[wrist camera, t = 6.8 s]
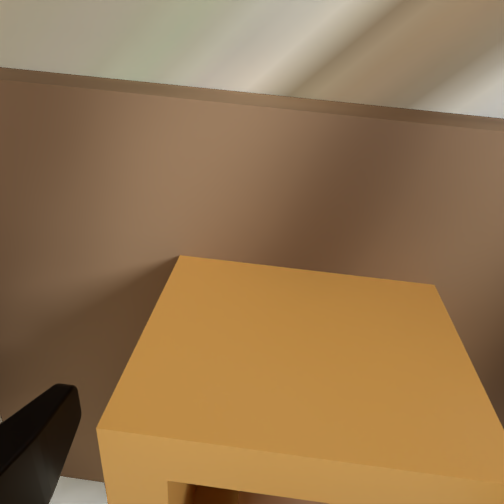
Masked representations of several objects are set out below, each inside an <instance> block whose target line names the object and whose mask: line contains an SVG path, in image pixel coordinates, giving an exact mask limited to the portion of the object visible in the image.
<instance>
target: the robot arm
mask: <svg viewBox="0 0 504 504" xmlns="http://www.w3.org/2000/svg"><path fill="white" fill-rule="evenodd" d="M81 413H82V412H81V405H80V399H79V394H78V389H77V387H76V386H74V385H69V384H62V383H58V384H55V385H53V386H52V387H50V388H49V389H47V390H46V391H45V392H43V393H42V394H40V395H39V396H38V397H36V398H35V399H34V400H32V401H31V402H29V403H28V404H27V405H25V406H24V407H23V408H21V409H20V410H18V411H17V412H16V413H14V414H13V415H12V416H10V417H9V418H7V419H6V420H5V421H3V422H2V423H0V504H49V502H50V500H51V497H52V495H53V493H54V490H55V488H56V485H57V483H58V480H59V477H60V475H61V472H62V469H63V467H64V464H65V461H66V458H67V456H68V453H69V450H70V448H71V445H72V442H73V440H74V437H75V434H76V432H77V429H78V426H79V423H80V420H81Z"/></svg>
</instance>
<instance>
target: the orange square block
mask: <svg viewBox="0 0 504 504" xmlns="http://www.w3.org/2000/svg"><path fill="white" fill-rule="evenodd" d="M96 431H97V438H98V444H99V450H100V457H101V463H102V469H103V476H104V482H105V488H106V494H107V501H108V504H238V497H239V491H245V492H252V493H259V494H266V495H273V496H280V497H287V498H294V499H301V500H308V501H315V502H322V503H329V504H504V429H503V427H502V425H501V423H500V421H499V419H498V416H497V414H496V412H495V410H494V408H493V406H492V404H491V402H490V400H489V398H488V396H487V393H486V391H485V389H484V387H483V385H482V383H481V381H480V379H479V377H478V375H477V373H476V370H475V368H474V366H473V364H472V362H471V360H470V358H469V356H468V354H467V352H466V350H465V347H464V345H463V343H462V341H461V339H460V337H459V335H458V333H457V331H456V329H455V327H454V325H453V322H452V320H451V318H450V316H449V314H448V312H447V310H446V308H445V306H444V304H443V302H442V299H441V297H440V295H439V293H438V291H437V289H436V287H435V285H432V284H423V283H415V282H406V281H397V280H389V279H380V278H372V277H363V276H354V275H346V274H337V273H329V272H320V271H311V270H303V269H294V268H286V267H277V266H268V265H260V264H251V263H243V262H234V261H225V260H217V259H208V258H200V257H191V256H182V255H180V256H179V258H178V260H177V262H176V264H175V266H174V268H173V271H172V273H171V275H170V277H169V279H168V281H167V283H166V285H165V287H164V289H163V291H162V293H161V295H160V297H159V299H158V301H157V303H156V306H155V308H154V310H153V312H152V314H151V316H150V318H149V320H148V322H147V324H146V326H145V328H144V330H143V332H142V334H141V336H140V339H139V341H138V343H137V345H136V347H135V349H134V351H133V353H132V355H131V357H130V359H129V361H128V363H127V365H126V367H125V369H124V371H123V374H122V376H121V378H120V380H119V382H118V384H117V386H116V388H115V390H114V392H113V394H112V396H111V398H110V400H109V402H108V404H107V407H106V409H105V411H104V413H103V415H102V417H101V419H100V421H99V423H98V425H97V427H96Z"/></svg>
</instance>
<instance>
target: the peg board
mask: <svg viewBox="0 0 504 504" xmlns="http://www.w3.org/2000/svg"><path fill="white" fill-rule="evenodd" d="M180 255H182V256H191V257H200V258H208V259H217V260H225V261H234V262H243V263H251V264H260V265H268V266H277V267H286V268H294V269H303V270H311V271H320V272H329V273H337V274H346V275H354V276H363V277H372V278H380V279H389V280H397V281H406V282H415V283H423V284H432V285H435V287H436V289H437V291H438V293H439V295H440V297H441V299H442V302H443V304H444V306H445V308H446V310H447V312H448V314H449V316H450V318H451V320H452V322H453V325H454V327H455V329H456V331H457V333H458V335H459V337H460V339H461V341H462V343H463V345H464V347H465V350H466V352H467V354H468V356H469V358H470V360H471V362H472V364H473V366H474V368H475V370H476V373H477V375H478V377H479V379H480V381H481V383H482V385H483V387H484V389H485V391H486V393H487V396H488V398H489V400H490V402H491V404H492V406H493V408H494V410H495V412H496V414H497V416H498V419H499V421H500V423H501V425H502V427H503V429H504V119H501V118H491V117H481V116H471V115H462V114H452V113H442V112H432V111H423V110H413V109H403V108H393V107H383V106H374V105H364V104H354V103H344V102H335V101H325V100H315V99H305V98H295V97H286V96H276V95H266V94H256V93H247V92H237V91H227V90H217V89H207V88H198V87H188V86H178V85H168V84H159V83H149V82H139V81H129V80H119V79H110V78H100V77H90V76H80V75H71V74H61V73H51V72H41V71H31V70H22V69H12V68H2V67H0V415H1V418H2V421H5V420H6V419H7V418H9V417H10V416H12V415H13V414H14V413H16V412H17V411H18V410H20V409H21V408H23V407H24V406H25V405H27V404H28V403H29V402H31V401H32V400H34V399H35V398H36V397H38V396H39V395H40V394H42V393H43V392H45V391H46V390H47V389H49V388H50V387H52V386H53V385H55V384H58V383H62V384H69V385H74V386H76V387H77V389H78V394H79V399H80V405H81V412H82V413H81V420H80V423H79V426H78V429H77V432H76V434H75V437H74V440H73V442H72V445H71V448H70V450H69V453H68V456H67V458H66V461H65V464H64V467H63V469H62V472H61V475H60V476H65V477H71V478H78V479H85V480H92V481H99V482H104V476H103V469H102V463H101V457H100V450H99V444H98V438H97V431H96V427H97V425H98V423H99V421H100V419H101V417H102V415H103V413H104V411H105V409H106V407H107V404H108V402H109V400H110V398H111V396H112V394H113V392H114V390H115V388H116V386H117V384H118V382H119V380H120V378H121V376H122V374H123V371H124V369H125V367H126V365H127V363H128V361H129V359H130V357H131V355H132V353H133V351H134V349H135V347H136V345H137V343H138V341H139V339H140V336H141V334H142V332H143V330H144V328H145V326H146V324H147V322H148V320H149V318H150V316H151V314H152V312H153V310H154V308H155V306H156V303H157V301H158V299H159V297H160V295H161V293H162V291H163V289H164V287H165V285H166V283H167V281H168V279H169V277H170V275H171V273H172V271H173V268H174V266H175V264H176V262H177V260H178V258H179V256H180ZM238 504H329V503H322V502H315V501H308V500H301V499H294V498H287V497H280V496H273V495H266V494H259V493H252V492H245V491H239V497H238Z"/></svg>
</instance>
